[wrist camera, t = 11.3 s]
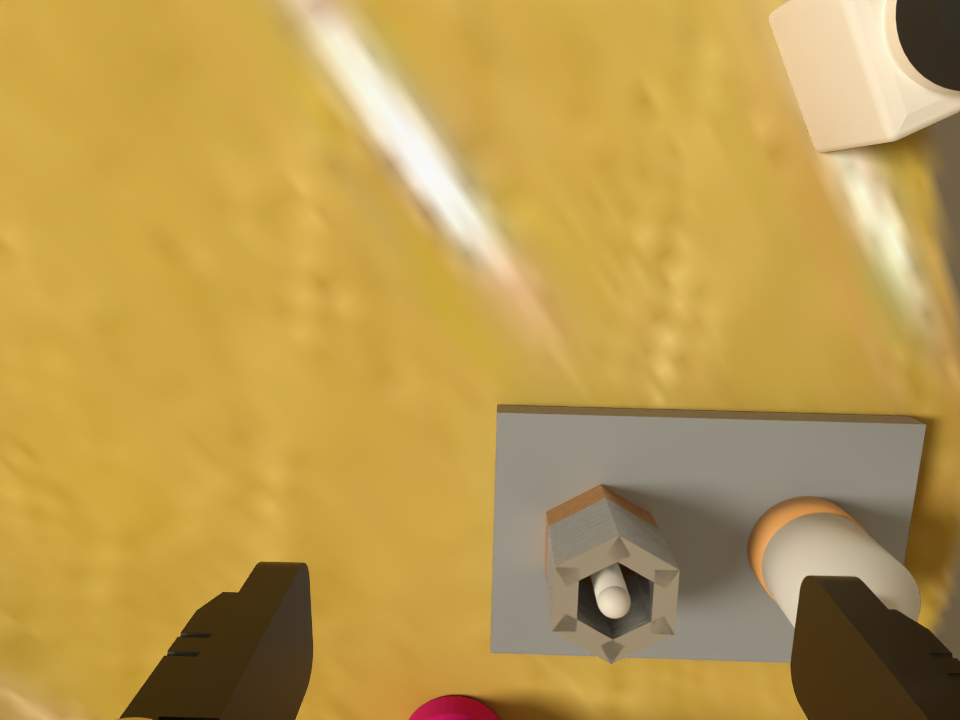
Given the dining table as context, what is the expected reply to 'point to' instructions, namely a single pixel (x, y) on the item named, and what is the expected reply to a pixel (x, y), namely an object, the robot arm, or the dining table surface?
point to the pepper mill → (453, 710)
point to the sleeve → (594, 546)
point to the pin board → (708, 516)
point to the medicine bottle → (870, 66)
